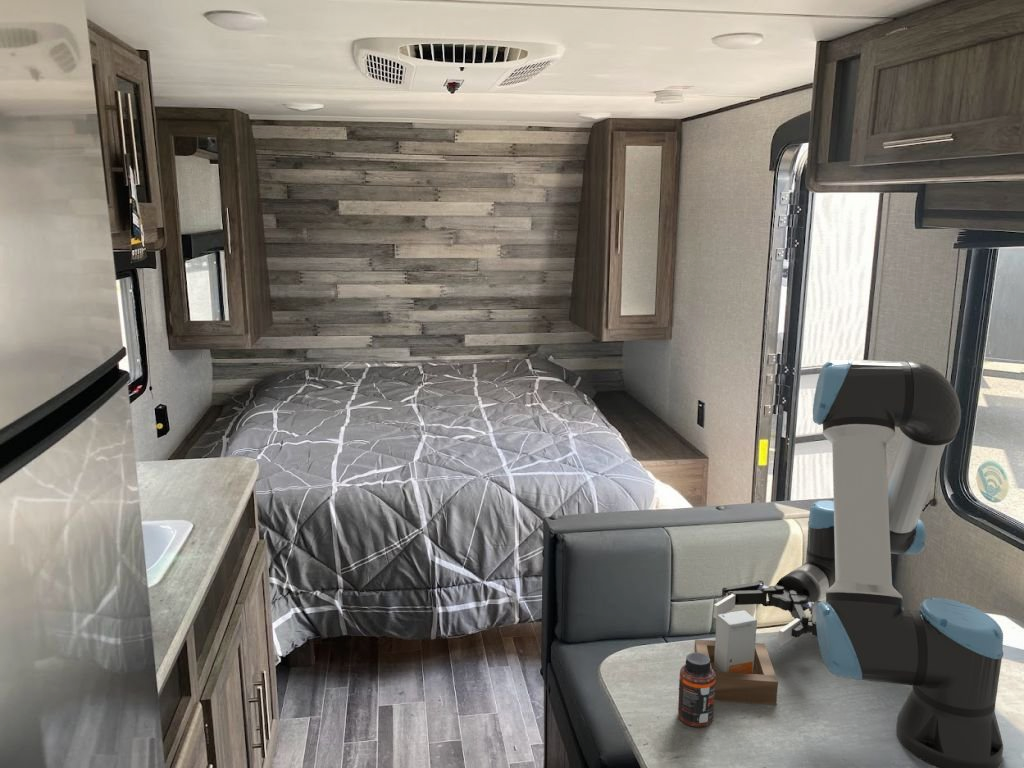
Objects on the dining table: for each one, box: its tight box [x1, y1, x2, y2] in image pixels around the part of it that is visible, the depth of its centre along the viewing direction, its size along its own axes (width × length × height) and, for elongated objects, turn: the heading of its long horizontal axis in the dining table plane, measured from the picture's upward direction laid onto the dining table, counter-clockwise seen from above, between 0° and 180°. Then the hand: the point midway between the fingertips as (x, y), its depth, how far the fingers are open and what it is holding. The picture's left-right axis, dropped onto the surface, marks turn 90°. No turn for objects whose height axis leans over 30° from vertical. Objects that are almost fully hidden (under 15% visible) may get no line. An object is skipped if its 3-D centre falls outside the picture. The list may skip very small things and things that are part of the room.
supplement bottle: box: [677, 652, 715, 728], centre depth 134 cm, size 6×6×11 cm
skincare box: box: [714, 609, 758, 674], centre depth 144 cm, size 6×4×12 cm
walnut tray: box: [693, 638, 779, 706], centre depth 145 cm, size 13×13×4 cm
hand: (746, 624), depth 147 cm, fingers open, 13 cm apart
